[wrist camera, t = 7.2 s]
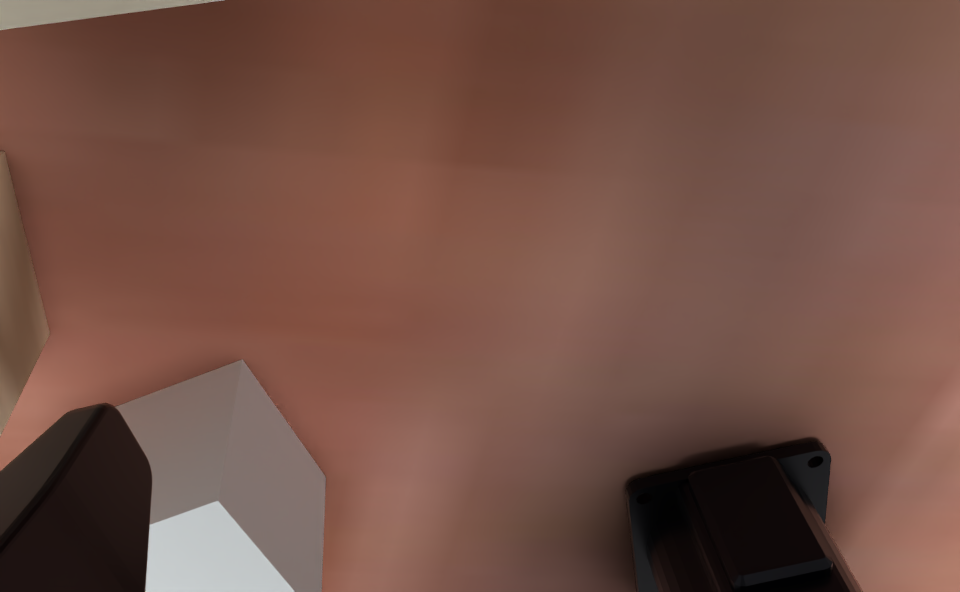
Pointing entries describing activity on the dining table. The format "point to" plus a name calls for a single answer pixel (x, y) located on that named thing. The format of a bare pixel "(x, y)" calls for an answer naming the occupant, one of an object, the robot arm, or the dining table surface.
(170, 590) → the grey block
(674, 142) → the dining table surface
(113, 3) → the cream square block
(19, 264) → the maple block
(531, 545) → the dining table surface
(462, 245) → the dining table surface
